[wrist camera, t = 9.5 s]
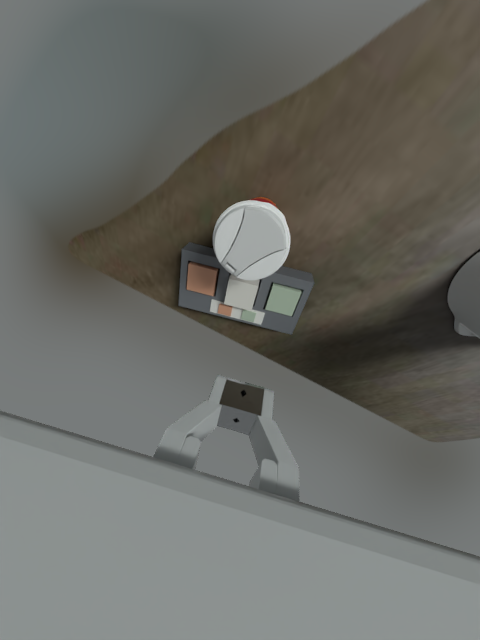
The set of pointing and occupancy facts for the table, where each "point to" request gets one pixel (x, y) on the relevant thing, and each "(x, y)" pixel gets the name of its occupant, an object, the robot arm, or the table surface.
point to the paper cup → (251, 239)
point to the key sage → (282, 299)
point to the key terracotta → (202, 278)
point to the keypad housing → (258, 310)
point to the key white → (241, 292)
